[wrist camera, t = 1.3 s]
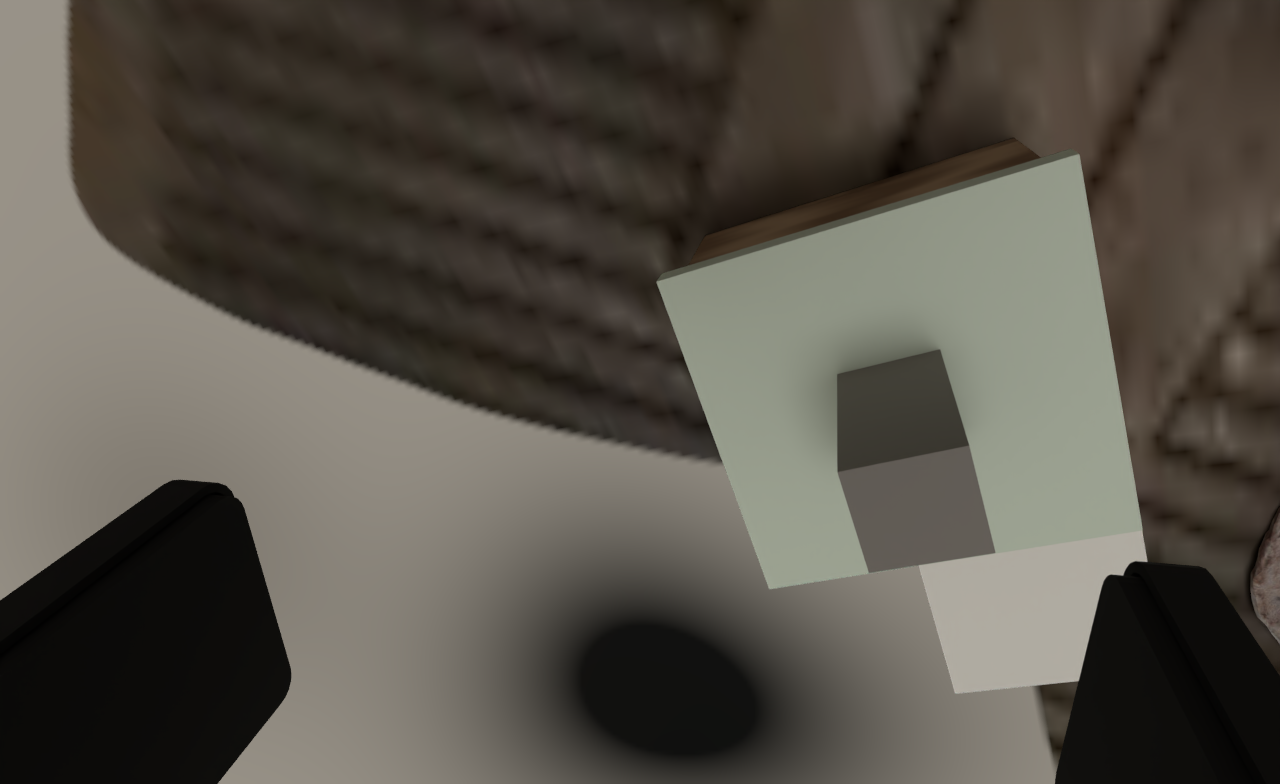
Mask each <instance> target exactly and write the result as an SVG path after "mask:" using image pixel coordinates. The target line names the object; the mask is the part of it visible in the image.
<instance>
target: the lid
mask: <svg viewBox="0 0 1280 784" xmlns="http://www.w3.org/2000/svg"><path fill="white" fill-rule="evenodd" d="M657 285H658V287H659V290H660V293H661V296H662V298H663V301H664V304H665V306H666V309H667V312H668V315H669V317H670V320H671V323H672V326H673V328H674V331H675V334H676V336H677V339H678V342H679V345H680V347H681V350H682V353H683V356H684V358H685V361H686V364H687V366H688V369H689V372H690V375H691V377H692V380H693V383H694V385H695V388H696V391H697V394H698V396H699V399H700V402H701V405H702V407H703V410H704V413H705V415H706V418H707V421H708V424H709V426H710V429H711V432H712V434H713V437H714V440H715V443H716V445H717V448H718V451H719V454H720V456H721V459H722V462H723V464H724V467H725V470H726V473H727V475H728V478H729V481H730V483H731V486H732V489H733V491H734V494H735V497H736V500H737V503H738V505H739V508H740V511H741V513H742V516H743V519H744V522H745V524H746V527H747V530H748V533H749V535H750V538H751V541H752V543H753V546H754V549H755V551H756V554H757V557H758V560H759V562H760V565H761V568H762V571H763V573H764V576H765V579H766V581H767V584H768V587H769V589H774V588H780V587H786V586H792V585H799V584H806V583H811V582H818V581H825V580H831V579H837V578H843V577H850V576H857V575H863V574H869V573H876V572H882V571H888V570H895V569H901V568H907V567H914V566H920V565H926V564H933V563H939V562H945V561H952V560H958V559H964V558H971V557H977V556H984V555H990V554H996V553H1003V552H1009V551H1015V550H1022V549H1028V548H1034V547H1041V546H1047V545H1053V544H1060V543H1066V542H1072V541H1079V540H1085V539H1091V538H1098V537H1104V536H1111V535H1117V534H1123V533H1130V532H1136V531H1142V530H1143V529H1142V523H1141V517H1140V511H1139V505H1138V499H1137V493H1136V487H1135V482H1134V476H1133V470H1132V464H1131V458H1130V452H1129V446H1128V440H1127V434H1126V428H1125V422H1124V416H1123V410H1122V404H1121V398H1120V393H1119V387H1118V381H1117V375H1116V369H1115V363H1114V357H1113V351H1112V345H1111V339H1110V333H1109V327H1108V321H1107V315H1106V310H1105V304H1104V298H1103V292H1102V286H1101V280H1100V274H1099V268H1098V262H1097V256H1096V250H1095V244H1094V238H1093V232H1092V226H1091V221H1090V215H1089V209H1088V203H1087V197H1086V191H1085V185H1084V179H1083V173H1082V167H1081V161H1080V155H1079V153H1077V152H1076V151H1074V150H1072V149H1068V150H1065V151H1062V152H1058V153H1055V154H1052V155H1049V156H1045V157H1042V158H1039V159H1035V160H1032V161H1029V162H1026V163H1022V164H1019V165H1016V166H1013V167H1009V168H1006V169H1003V170H999V171H996V172H993V173H990V174H986V175H983V176H980V177H977V178H973V179H970V180H967V181H963V182H960V183H957V184H954V185H950V186H947V187H944V188H941V189H937V190H934V191H931V192H927V193H924V194H921V195H918V196H914V197H911V198H908V199H905V200H901V201H898V202H895V203H891V204H888V205H885V206H882V207H878V208H875V209H872V210H869V211H865V212H862V213H859V214H855V215H852V216H849V217H846V218H842V219H839V220H836V221H833V222H829V223H826V224H823V225H819V226H816V227H813V228H810V229H806V230H803V231H800V232H797V233H793V234H790V235H787V236H783V237H780V238H777V239H774V240H770V241H767V242H764V243H761V244H757V245H754V246H751V247H747V248H744V249H741V250H738V251H734V252H731V253H728V254H725V255H721V256H718V257H715V258H711V259H708V260H705V261H702V262H698V263H695V264H692V265H689V266H685V267H682V268H679V269H676V270H672V271H669V272H666V273H662V274H661V276H660V277H659V279H658V280H657Z"/></svg>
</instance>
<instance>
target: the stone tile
mask: <svg viewBox="0 0 1280 784" xmlns="http://www.w3.org/2000/svg"><path fill="white" fill-rule="evenodd" d="M1134 561H1141V562H1147V557H1146V551H1145V545H1144V539H1143V533H1142V531H1136V532H1130V533H1123V534H1117V535H1111V536H1104V537H1098V538H1091V539H1085V540H1079V541H1072V542H1066V543H1060V544H1053V545H1047V546H1041V547H1034V548H1028V549H1022V550H1015V551H1009V552H1003V553H996V554H990V555H984V556H977V557H971V558H964V559H958V560H952V561H945V562H939V563H933V564H926V565H920V566H919V569H920V573H921V577H922V580H923V584H924V587H925V591H926V594H927V598H928V601H929V605H930V608H931V612H932V615H933V619H934V622H935V625H936V629H937V632H938V636H939V639H940V643H941V646H942V650H943V654H944V657H945V661H946V664H947V668H948V671H949V674H950V678H951V681H952V685H953V688H954V692H955V694H958V693H968V692H977V691H987V690H996V689H1005V688H1015V687H1025V686H1035V685H1044V684H1054V683H1063V682H1073V681H1079V678H1080V674H1081V670H1082V665H1083V661H1084V657H1085V653H1086V649H1087V645H1088V641H1089V637H1090V633H1091V629H1092V624H1093V620H1094V616H1095V612H1096V608H1097V604H1098V600H1099V596H1100V592H1101V588H1102V585H1103V582H1104V580H1105V578H1106V577H1107V576H1108V575H1111V574H1112V575H1124V572H1125V569H1126V568H1127V567H1128V565H1129V564H1130V563H1132V562H1134Z"/></svg>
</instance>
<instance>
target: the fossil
mask: <svg viewBox="0 0 1280 784" xmlns="http://www.w3.org/2000/svg"><path fill="white" fill-rule="evenodd" d="M1250 590H1251V598H1252V602H1253V606H1254V610H1255V613H1256V615H1257V617H1258V618H1259V619H1260V620H1261V621H1262V622H1263V623H1264V624H1265V625H1266V626H1267V628H1268V629H1269V631H1270V632H1271V633H1272V635H1273V636H1274V637H1275V638H1276V639H1277V641H1278V642H1279V643H1280V506H1279V508H1278V510H1277V513H1276V515H1275V516H1274V518H1273V520H1272V522H1271V525H1270V529H1269V531H1267V532H1266V534H1265V536H1264V539H1263V541H1262V543H1261V546H1260V548H1259V552H1258V558H1257V561H1256V565H1255V567H1254V569H1253V570H1252V572H1251V581H1250Z"/></svg>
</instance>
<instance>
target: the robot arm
mask: <svg viewBox="0 0 1280 784" xmlns="http://www.w3.org/2000/svg"><path fill="white" fill-rule="evenodd" d="M290 682H291V668H290V664H289V661H288V658H287V654H286V650H285V647H284V644H283V640H282V637H281V633H280V630H279V627H278V623H277V619H276V616H275V613H274V609H273V606H272V602H271V599H270V595H269V592H268V589H267V585H266V582H265V578H264V575H263V572H262V568H261V565H260V561H259V558H258V554H257V551H256V547H255V544H254V540H253V537H252V533H251V530H250V527H249V523H248V520H247V516H246V513H245V509H244V507H243V505H242V503H241V502H240V501H239V500H238V499H237V498H234V495H233V493H232V491H231V490H230V489H229V488H228V487H227V486H225V485H223V484H220V483H212V482H199V481H188V480H172V481H170V482H168V483H166V484H164V485H162V486H161V487H159V488H158V489H157V490H155V491H154V492H152V493H151V494H150V495H148V496H147V497H145V498H144V499H143V500H141V501H140V502H138V503H137V504H135V505H134V506H133V507H131V508H130V509H129V510H127V511H126V512H124V513H123V514H121V515H120V516H119V517H117V518H116V519H114V520H113V521H112V522H110V523H109V524H107V525H106V526H105V527H103V528H102V529H100V530H99V531H97V532H96V533H95V534H93V535H92V536H90V537H89V538H88V539H86V540H85V541H83V542H82V543H81V544H79V545H78V546H76V547H75V548H74V549H72V550H71V551H69V552H68V553H67V554H65V555H64V556H62V557H61V558H59V559H58V560H57V561H55V562H54V563H52V564H51V565H50V566H48V567H47V568H45V569H44V570H43V571H41V572H40V573H38V574H37V575H36V576H34V577H33V578H31V579H30V580H29V581H27V582H26V583H24V584H23V585H21V586H20V587H19V588H17V589H16V590H14V591H13V592H12V593H10V594H9V595H7V596H6V597H5V598H3V599H2V600H0V784H218V782H219V781H220V780H221V779H222V777H223V776H224V775H225V774H226V772H227V771H228V770H229V768H230V767H231V766H232V765H233V763H234V762H235V761H236V760H237V758H238V757H239V756H240V755H241V753H242V752H243V751H244V749H245V748H246V747H247V746H248V745H249V743H250V742H251V741H252V739H253V738H254V737H255V736H256V734H257V733H258V732H259V731H260V729H261V728H262V727H263V726H264V724H265V723H266V722H267V721H268V719H269V718H270V717H271V716H272V714H273V713H274V712H275V710H276V709H277V708H278V707H279V705H280V704H281V703H282V701H283V700H284V698H285V697H286V695H287V692H288V690H289V686H290ZM1055 784H1280V676H1279V674H1278V673H1277V671H1276V670H1275V668H1274V667H1273V665H1272V664H1271V662H1270V661H1269V659H1268V658H1267V656H1266V655H1265V653H1264V652H1263V650H1262V649H1261V647H1260V646H1259V644H1258V643H1257V641H1256V640H1255V639H1254V637H1253V636H1252V634H1251V633H1250V631H1249V630H1248V628H1247V627H1246V625H1245V624H1244V622H1243V621H1242V619H1241V618H1240V616H1239V615H1238V613H1237V612H1236V610H1235V609H1234V607H1233V606H1232V604H1231V603H1230V601H1229V600H1228V598H1227V597H1226V595H1225V594H1224V592H1223V591H1222V589H1221V588H1220V586H1219V585H1218V583H1217V582H1216V580H1215V579H1214V578H1213V576H1212V575H1211V574H1210V573H1209V572H1208V571H1207V570H1206V569H1205V568H1202V567H1199V566H1188V565H1176V564H1165V563H1153V562H1141V561H1134V562H1132V563H1130V564H1129V565H1128V567H1127V568H1126V569H1125V572H1124V575H1112V574H1111V575H1108V576H1107V577H1106V578H1105V580H1104V582H1103V585H1102V588H1101V592H1100V596H1099V600H1098V604H1097V608H1096V612H1095V616H1094V620H1093V624H1092V629H1091V633H1090V637H1089V641H1088V645H1087V649H1086V653H1085V657H1084V661H1083V665H1082V670H1081V674H1080V678H1079V682H1078V686H1077V690H1076V694H1075V698H1074V702H1073V707H1072V711H1071V715H1070V719H1069V723H1068V727H1067V731H1066V735H1065V739H1064V743H1063V748H1062V752H1061V756H1060V760H1059V764H1058V768H1057V772H1056V779H1055Z"/></svg>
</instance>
